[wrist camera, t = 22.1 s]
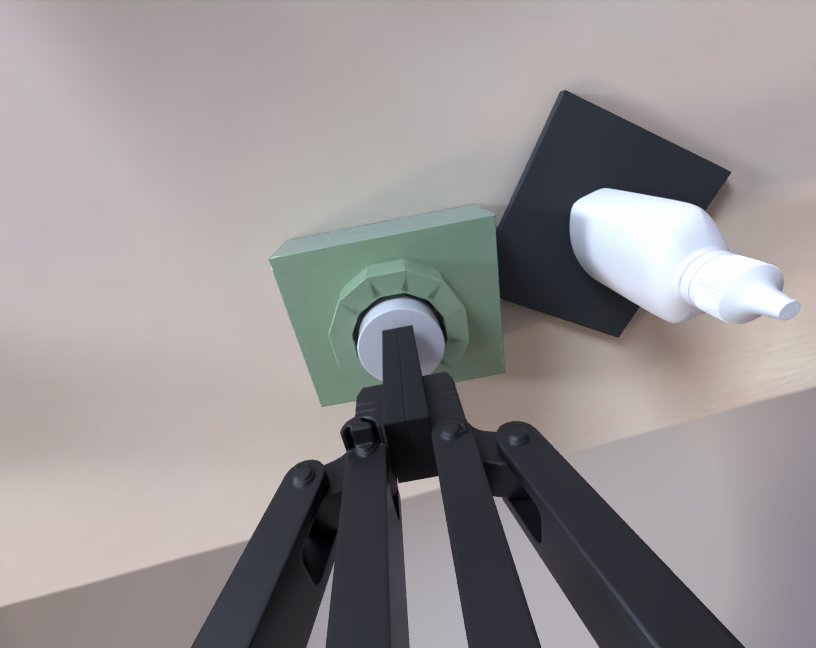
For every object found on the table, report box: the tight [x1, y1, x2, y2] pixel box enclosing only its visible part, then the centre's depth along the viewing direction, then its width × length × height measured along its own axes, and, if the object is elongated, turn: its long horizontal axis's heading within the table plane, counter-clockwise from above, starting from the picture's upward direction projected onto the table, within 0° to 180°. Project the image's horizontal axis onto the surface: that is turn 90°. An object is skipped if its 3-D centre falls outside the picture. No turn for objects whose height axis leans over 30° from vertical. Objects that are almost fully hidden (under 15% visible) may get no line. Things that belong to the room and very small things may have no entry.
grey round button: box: [357, 294, 445, 381], centre depth 19 cm, size 4×4×2 cm
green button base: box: [268, 204, 505, 407], centre depth 22 cm, size 12×10×6 cm
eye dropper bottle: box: [570, 188, 801, 324], centre depth 17 cm, size 4×6×12 cm
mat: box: [496, 90, 731, 337], centre depth 23 cm, size 12×12×1 cm
